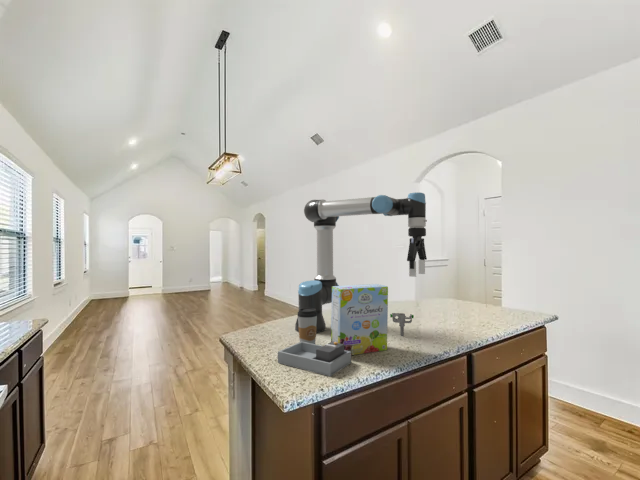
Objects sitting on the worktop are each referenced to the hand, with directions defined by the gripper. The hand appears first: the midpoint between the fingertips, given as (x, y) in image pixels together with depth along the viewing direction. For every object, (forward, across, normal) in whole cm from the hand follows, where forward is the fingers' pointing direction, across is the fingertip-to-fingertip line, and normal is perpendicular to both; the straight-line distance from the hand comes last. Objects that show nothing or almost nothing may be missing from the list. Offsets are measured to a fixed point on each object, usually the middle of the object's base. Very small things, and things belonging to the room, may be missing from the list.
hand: (417, 275), depth 144 cm
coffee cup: (+28, -35, +35) cm, 57 cm away
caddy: (+28, -49, +22) cm, 61 cm away
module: (+28, -49, +15) cm, 59 cm away
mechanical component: (+28, 0, +7) cm, 29 cm away
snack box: (+28, -29, +14) cm, 43 cm away
